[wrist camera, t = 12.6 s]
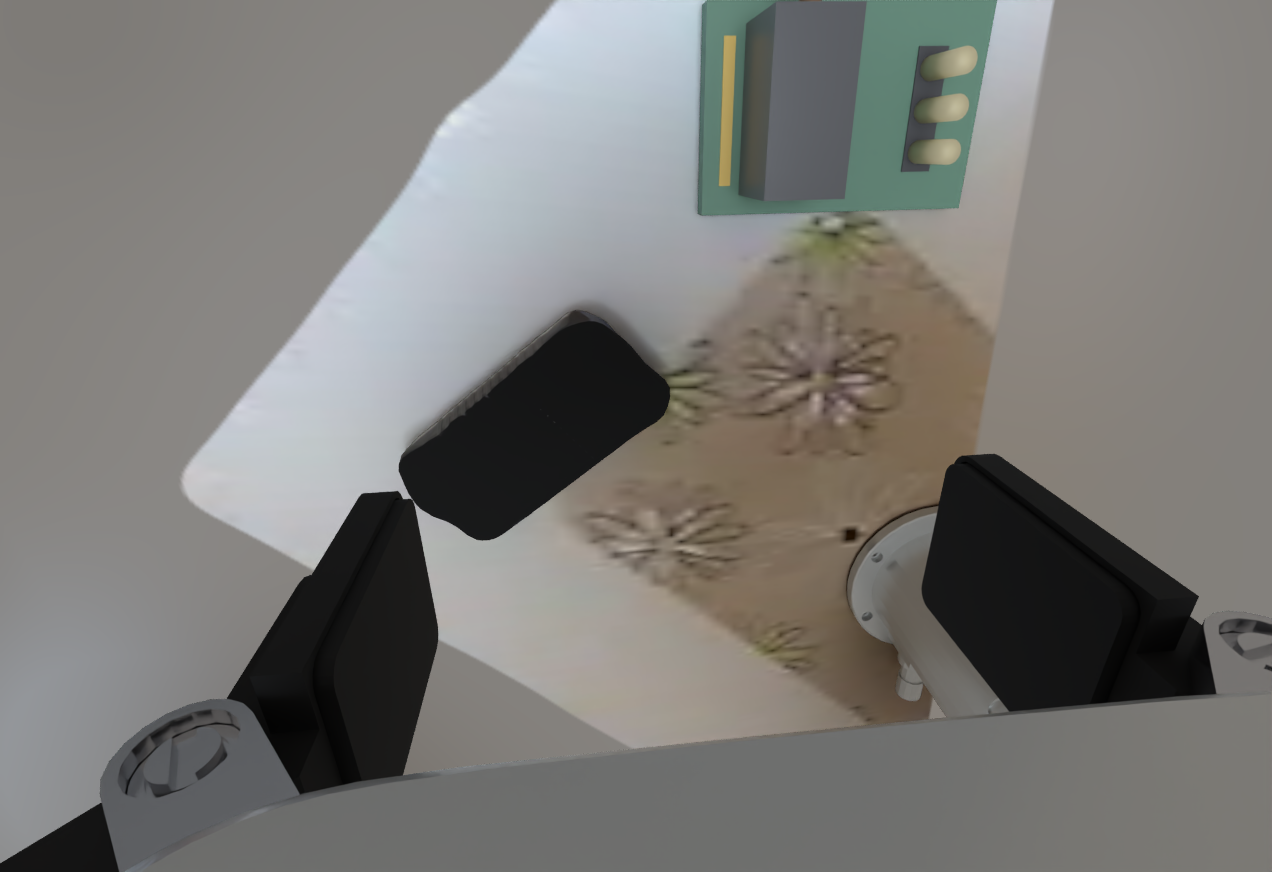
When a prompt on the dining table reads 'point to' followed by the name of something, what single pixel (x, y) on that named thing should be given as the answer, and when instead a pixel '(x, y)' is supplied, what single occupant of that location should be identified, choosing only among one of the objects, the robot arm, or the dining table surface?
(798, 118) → the plug housing
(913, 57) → the header board
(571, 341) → the black sponge
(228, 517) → the dining table surface
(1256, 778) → the robot arm
